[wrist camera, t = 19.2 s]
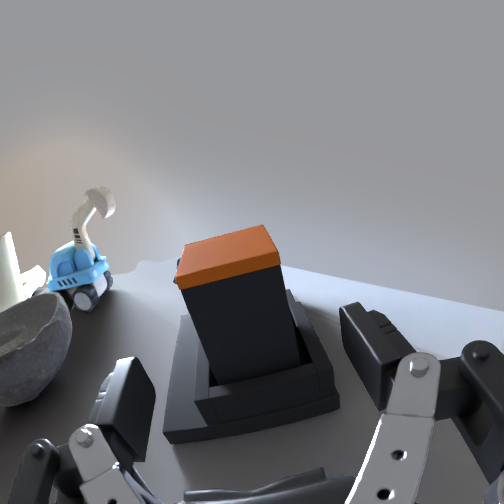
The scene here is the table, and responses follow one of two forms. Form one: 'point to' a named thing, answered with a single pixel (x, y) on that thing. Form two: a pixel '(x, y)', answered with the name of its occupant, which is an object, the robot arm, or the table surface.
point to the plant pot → (9, 274)
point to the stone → (32, 281)
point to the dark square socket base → (246, 389)
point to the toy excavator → (82, 257)
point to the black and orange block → (239, 304)
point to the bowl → (32, 346)
